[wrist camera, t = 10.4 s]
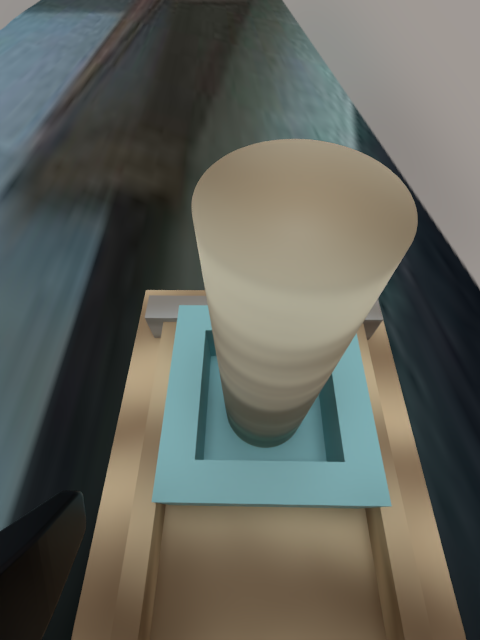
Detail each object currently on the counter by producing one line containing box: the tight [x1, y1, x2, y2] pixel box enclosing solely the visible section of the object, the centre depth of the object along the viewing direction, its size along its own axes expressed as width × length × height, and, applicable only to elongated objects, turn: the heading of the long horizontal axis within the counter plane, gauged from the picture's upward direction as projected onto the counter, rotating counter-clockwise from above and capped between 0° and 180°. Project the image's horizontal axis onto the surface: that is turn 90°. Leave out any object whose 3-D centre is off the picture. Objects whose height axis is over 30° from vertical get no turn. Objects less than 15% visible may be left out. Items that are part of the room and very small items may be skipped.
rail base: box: [71, 290, 466, 640], centre depth 16 cm, size 20×16×3 cm
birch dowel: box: [192, 139, 417, 448], centre depth 11 cm, size 4×4×13 cm
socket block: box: [152, 305, 392, 509], centre depth 16 cm, size 9×9×4 cm
